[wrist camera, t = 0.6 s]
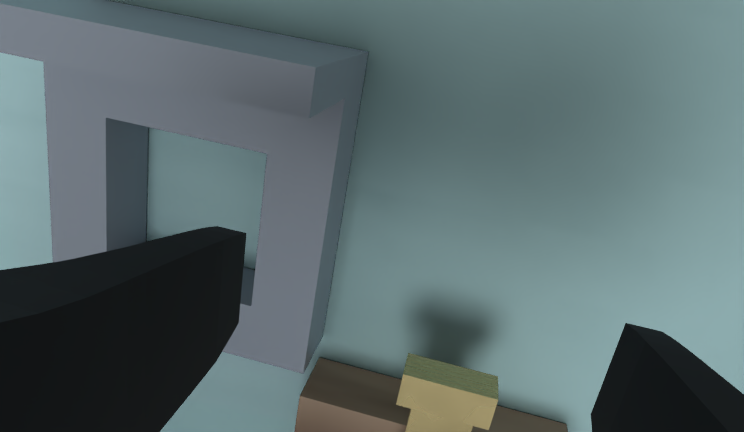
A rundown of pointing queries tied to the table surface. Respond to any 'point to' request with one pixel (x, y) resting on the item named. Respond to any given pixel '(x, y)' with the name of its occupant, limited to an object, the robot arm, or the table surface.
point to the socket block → (380, 405)
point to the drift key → (446, 396)
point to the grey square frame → (204, 121)
